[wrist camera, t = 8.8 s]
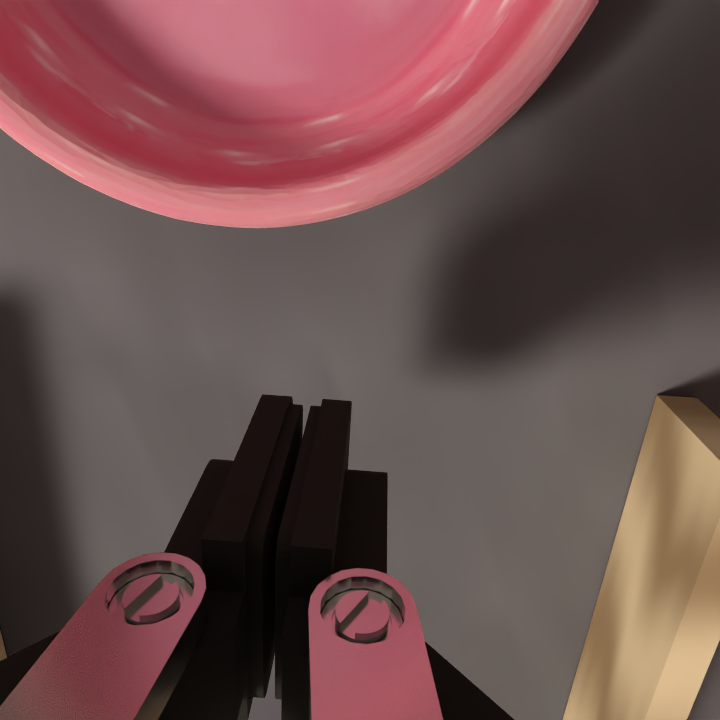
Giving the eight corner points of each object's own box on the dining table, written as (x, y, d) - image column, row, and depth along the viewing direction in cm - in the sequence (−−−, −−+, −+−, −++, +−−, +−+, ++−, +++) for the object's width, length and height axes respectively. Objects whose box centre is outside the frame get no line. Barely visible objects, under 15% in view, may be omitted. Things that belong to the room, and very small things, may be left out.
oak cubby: (-110, 347, 15) (-244, 415, 12) (696, 397, 15) (786, 479, 12) (15, 799, 22) (-46, 919, 19) (557, 831, 22) (589, 956, 19)
